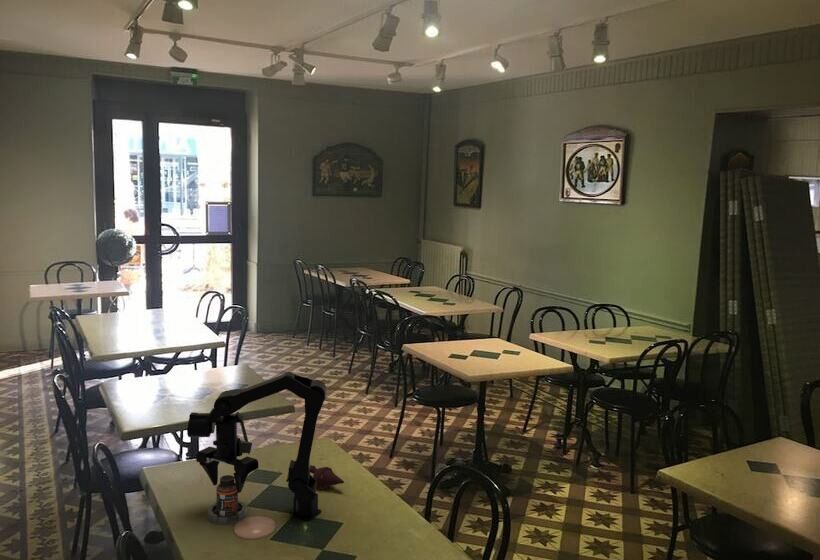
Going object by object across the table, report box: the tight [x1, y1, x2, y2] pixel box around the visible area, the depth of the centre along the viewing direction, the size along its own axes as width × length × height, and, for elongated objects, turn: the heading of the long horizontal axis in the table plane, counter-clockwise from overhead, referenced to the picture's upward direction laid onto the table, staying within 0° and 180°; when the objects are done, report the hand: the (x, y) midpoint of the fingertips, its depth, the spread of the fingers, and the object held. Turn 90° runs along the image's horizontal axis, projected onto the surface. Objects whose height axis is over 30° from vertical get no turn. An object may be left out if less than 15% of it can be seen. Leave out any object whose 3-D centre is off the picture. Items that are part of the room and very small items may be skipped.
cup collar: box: [207, 500, 248, 525], centre depth 189 cm, size 10×10×2 cm
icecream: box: [310, 464, 345, 490], centre depth 208 cm, size 7×7×15 cm
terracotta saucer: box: [233, 515, 276, 540], centre depth 182 cm, size 11×11×1 cm
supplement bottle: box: [215, 474, 239, 516], centre depth 189 cm, size 6×6×11 cm
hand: (227, 488), depth 188 cm, fingers open, 9 cm apart
